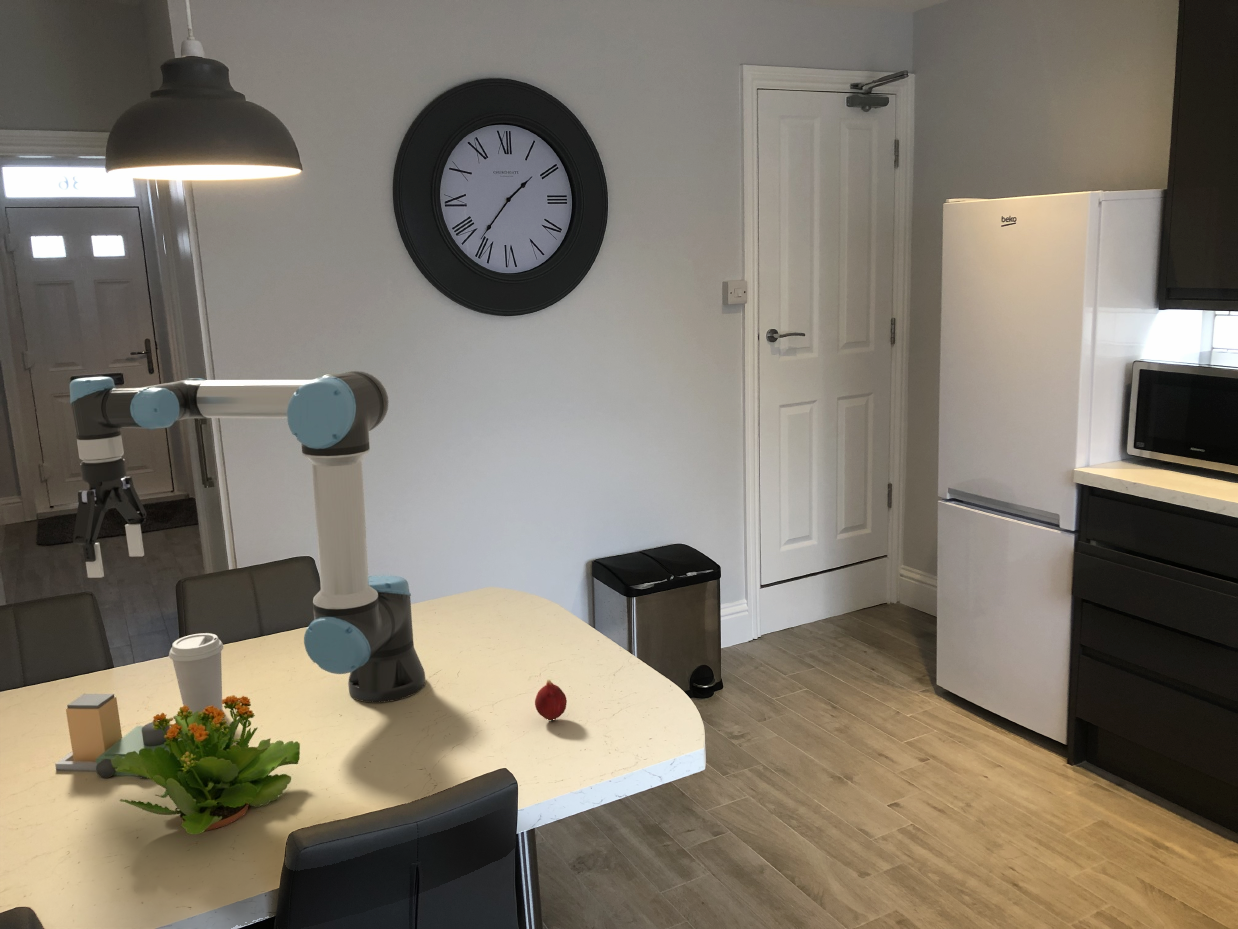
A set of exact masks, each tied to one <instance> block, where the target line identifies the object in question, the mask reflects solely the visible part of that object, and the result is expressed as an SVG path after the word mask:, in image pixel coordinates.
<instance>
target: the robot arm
mask: <svg viewBox="0 0 1238 929" xmlns="http://www.w3.org/2000/svg"><path fill="white" fill-rule="evenodd" d="M69 397H70V399H69V400H70V401H69V404H70V407H71V411H72V418H73V424H74V429H75V438H76V442H77V444H76V445H77V449H78V450H77V451H78V457H79V458H78V459H80V460H82V461H81V463H80V464H79V465H80V466H79V467H80V474H81V480H82V481H83V482H85V483H88V485H89V486H88V487H89V488H88V490H79V491H78V492H77V500H78V501H77V503H78V504H77V512H76V518H75V523H74V524H75V525H74V529H73V530H74V531H73V536H72V537H73V538H72V543H73V544H74V545H77V546H82V551H83V556H84V557H83V558H84V562H85V567H86V575H87V578H89V579H93V578H103V577H105V573H104V566H103V558H102V553H101V546H100V542H97V539H98V536H99V533H100V530H101V526H102V524H103V520H104V518H105V514H106V513H107V512H108V511H109V509H111V508H113V507H114V508H115V509H116V510H117V511H118V512H119V514H120V515H121V516H122V517H123V519H124V520H125V521H126V522H127V524H125V525H124V527H125V535H126V541H127V542H126V543H127V549H128V556H129V557H143V556H145V550H144V542H143V535H142V534H143V533H142V527H141V524H145V523H146V520H147V518H146V517H147V511H146V509H145V507H144V505H143V504H142V501H141V498H140V496H139V495H138V493H137V491H136V488H135V487H134V482H133V477H132V476H127V468H126V460H125V458H123V457H122V456H124V453H125V452H124V444H123V440H122V439H123V438H122V431H121V429H148V430H155V429H163V428H164V429H165V428H170V427H171V426H173V425H174V423H175V422H178V421H181V420H187V419H279V420H280V419H281V420H282V419H283V420H285V419H286V420H287V425H288V428H289V430H290V432H291V434H292V435H293V436H295V437H296V440H297V441H298V442H299V443H300V444H301V454H302V456H304V458H306V459H307V460H309V461H310V463H311V468H312V469H311V470H312V482H313V497H314V510H315V524H316V525H315V527H316V538H317V553H318V555H317V556H318V566H319V567H318V569H319V570H318V571H319V580H320V583H319V585H320V590H319V591H318V592H317V593H316V594H315V595H314V596H313V600H312V605H313V620H312V621H311V622H310V624H309V625H308V626H307V628H306V630H305V632H304V636H303V645H304V648H305V651H306V653H307V655H308V657H309V659H310V660H311V661H312V662H313V664H314V663H315V664H316V665H317V666H318V667H319V668H320V669H321V670H323V671H325V672H327V673H331V674H335V675H345V674H346V675H347V674H349V677H348V683H347V684H348V693H349V695H350V697H352V698H353V699H355V700H357V701H361V702H366V703H387V702H388V703H389V702H394V701H398V700H402V699H405V698H409V697H410V696H413V695H415V694H417V693H419V692H420V691H422V689H423V688H424V687H425V686H426V685H425V684H426V673H425V672H426V671H425V669H424V667H423V664H422V662H421V661H420V657H419V656H418V654H417V651H416V649H415V644H414V643H415V642H414V632H413V620H412V619H413V617H412V606H411V605H412V603H411V600H412V599H411V596H412V595H411V592H410V586H409V581H408V580H407V579H406V578H404V577H402V576H398V575H393V574H392V575H391V574H390V575H389V574H385V575H384V574H383V575H381V574H379V575H376V574H375V575H369V563H368V546H367V531H366V529H367V528H366V514H365V512H366V511H365V497H364V496H365V495H364V479H363V462H362V460H363V459H364V457H365V456H366V455H367V454H368V453H369V452H370V431H372V430H374V429H376V428H377V427H378V426H379V425H380V424H381V423H382V422H383V421H384V420H385V417H386V416H387V413H388V410H389V402H390V401H389V396H388V393H387V390H386V387H385V386H384V385H383V383H382V381H380V380H379V379H378V378H377V377H376V376H374V375H373V374H371V373H369V372H365V371H359V370H352V371H346V372H342V373H333V374H332V373H331V374H329V373H328V374H327V373H326V374H325V375H323V376H319V377H316V378H313V379H207V380H206V379H204V378H199V377H198V378H197V377H195V378H194V377H193V378H184V379H182V380H178V381H171V382H165V383H160V384H155V385H148V386H142V387H126V388H125V387H123V388H120V387H116V385H115V380H114V379H113V378H112V377H110V376H92V377H89V376H88V377H82V378H81V377H80V378H76V379H73V380H71V382H70V383H69Z"/></svg>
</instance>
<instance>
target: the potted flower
mask: <svg viewBox="0 0 1238 929" xmlns="http://www.w3.org/2000/svg"><path fill="white" fill-rule="evenodd" d="M222 705H223V707H224V709H228V710H229V709H230V710H229V714H230V716H231V718H232V721H231V722H230V724H229V725H228V723H227V719H224V717H225V711H223V709H222V710H218V707H216V708H215V707H214V706H207V707H206V708H204V709H205V710H203V711H202V712H200V711H196V712H194V714H193V713H192V710H190V711H189V712H188V710H189V707H188V706H187V705H184V706H183V705H182V706H180V707H179V708H178V709H179V710H178V711H177V713H176V714H175V715H174V716H173V717H169V718H167V714H165V713H164V712H161V714H155V715H154V716H153V717H152V718H153V720H152V722H153V725H154V727H153V728H154V730H158V729H161V730H163V732H164V734H165V736H164V738H166V740H167V742H165V743H164V744H165V745H164V746H167V747H168V748H169V751H168V750H165V748H162V747H156V748H155V750H154V752H153V751H152V749H150V748H149V749H147V748H143V749H140V750H139V754H138V753H137V752H136V751H133V752H128V753H127V754H125V755H124V756H125V757H124V758H123V757H121V756H118V755H116V756H115V758H113V759H111V764H112V766H113V768H116V767H117V770H116V769H115V770H116V772H126V773H133V774H137V775H141V776H144V777H147V778H148V779H150V780H151V781H153V782H154V783H155V784H156V785H158V786H160V787H162V788H164V789H165V791H164V793H163V794H160V795H159V794H155V796H158V797H160V798H163V799H165V798H167V797H169V798H170V800H171V801H172V802H173V804H174V805H175V806H176V807H175V808H174V810H172V809H170V808H169V807H167V806H164V807H163V806H162V805H159V804H158V803H155V804H153V803H152V802H151V801H147V802H145V801H141V800H138V801H136V800H128V799H122V798H121V799H120V800H119V802H123V803H125V804H129V805H130V806H133V807H135V808H139V809H141V810H142V811H146V812H148V813H151V814H156V815H161V816H172V815H173V816H174V815H179V817H180V819H181V822H182V823H181V827H182V828H183V829H185V832H186V833H187V834H189V835H199V834H202V833H204V832H205V831H209V830H217V829H218V828H222V827H225V826H228V825H229V824H232V823H234V822H235V821H237V820H238V819H240V818H242V817H243V816H244V815H246V813H247V811H248V808H249V806H250V807H254V808H260V807H261V806H267V805H268V804H270V802H273V801H276V800H277V799H279V796H281V795H283V794H284V791H285V790H286V789H287V788H288V786H289V785H290V783H291V781H292V776H290V775H288V774H286V773H283V774H282V773H281V774H280V775H279V774H278V773H275V774H273V775H272V774H271V773H272V772H273V771H275V770H276V769H278V768H279V767H281V766H282V767H283V766H288V765H297V764H299V761H300V756H301V755H300V754H301V752H300V750H301V743H300V742H298V741H293V740H290V741H288V742H284V741H283V740H277V741H276V742H271V740H272V738H271V737H269V738H267V739H262V740H261V741H260V742H259V743H258V746H250V745H249V743H250V741H251V740H252V738H253V736H254V735H255V733H256V732H257V730H258V729H259V727H258V726H257V727H253V729H251V728H252V727H251V725H252V721H251V720H250V719H253V718H254V717H255V716H256V715H255V713H254V711H253V710H251V709H250V708H251V707H250V706H252V704H251V698H249V697H248V696H244V695H242V696H241V697H237V696H235V695H230V696H229V695H228V696H226V697H225V698H222ZM172 721H175V723H173V724H172V723H171V722H172ZM239 725H240V726H242V730H241V734H240V737H239V738H235V736H236V732H237V729H238V727H239ZM166 726H171V727H169V728H170V729H168V731H167V735H166V732H165V730H164V729H165V728H166ZM161 727H162V728H161ZM247 728H248V730H247ZM251 730H252V731H251ZM181 738H182V739H181ZM234 738H235V739H234ZM178 739H181V740H178ZM177 758H178V759H177Z"/></svg>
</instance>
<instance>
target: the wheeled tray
mask: <svg viewBox="0 0 1238 929" xmlns="http://www.w3.org/2000/svg"><path fill="white" fill-rule="evenodd" d="M153 727H154V725H153V721H151V722H149V723H146V724H145V725H136V726H134V728H132V730H130V731H129V732H127V733H126V734H125V735H124V736H122V738H121V739H120V740H119V741H117V742H116V743H115V744H114V745H112V746H111V747H110V748H109V749H107V750H106V751H105V752H104V753H102V754H101V755H100V756H99V757H97V758H96V762H86V761H74V759H73V752H72V751H71V752H69V753H68V754H66V755H65V756H64V757H63V758H61V759H59V760H58V761H57V762H55V770H56V771H68V772H69V771H70V772H71V771H72V772H74V771H77V772H83V771H84V772H96V773H97V775H98V776H99V777H101V778H103V779H108V778H110V777H113V776H129V777H131V776H133V777H134V776H137V777H139V778H140V779H142V780H143V779H144V780H147V779H149V778H147V777H144V776H141V775H137V774H133V773H126V772H116V770H117V767H116V768H113V766H112V764H111V759H113V758H115V756H116V755H118V756H121V757H123V758H124V757H125V756H124V755H125V754H127V753H128V752H133V751H136V752H137V753H138V754H139V750H140V749H143V748H147V749H149V748H150V749H152V751H153V752H154V750H155V748H156V747H162V748H165V750H168V751H169V748H168V747H167V746H164V745H165V744H164V743H165V742H167V740H166V738H164V736H165V734H164V732H163V730H161V729H158V730H154V728H153ZM169 727H171V726H166V728H165V729H164V730H165V732H166V735H167V731H168V729H170V728H169ZM161 728H162V727H161ZM181 739H182V738H181ZM181 739H178V740H181ZM177 759H178V758H177ZM115 769H116V770H115Z"/></svg>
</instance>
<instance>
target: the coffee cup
mask: <svg viewBox="0 0 1238 929" xmlns="http://www.w3.org/2000/svg"><path fill="white" fill-rule="evenodd" d="M171 645H172V647H171V648H170V650H169V652H168V653H169V654H168V658H170V660H172V664H173V668H174V672H175V676H176V679H177V680H176V681H177V684H178V689H179V693H180V698H181V701H182V707H183V706H184V705H187V706H188V707H189V710H188V712H189V711H190V710H192V713H193V714H194V712H196V711H200V712H202V711H203V710H205V709H204V708H206V707H207V706H214V707H215V708H216V707H218V710H222V711H223V704H222V700H223V680H222V679H223V678H222V675H223V674H222V672H223V671H222V651H223V649H224V644H223V642H222V641H221V639H219V637H218V635H216V634H214V633H211V632H210V633H209V632H205V633H203V632H202V633H201V632H200V633H195V634H190V635H187V636H186V635H185V636H183V637H180V638H178V639H176V640H175V641H174V642H172V644H171Z"/></svg>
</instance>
